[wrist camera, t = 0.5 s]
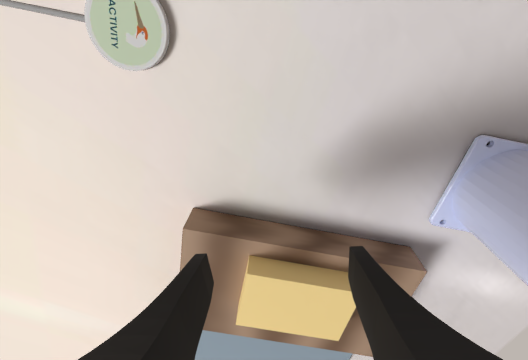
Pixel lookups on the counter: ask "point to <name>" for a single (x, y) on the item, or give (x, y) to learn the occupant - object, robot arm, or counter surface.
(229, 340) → the mat
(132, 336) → the robot arm
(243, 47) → the counter surface
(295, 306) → the yellow flat block
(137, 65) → the pale green spoon
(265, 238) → the brown wooden board
